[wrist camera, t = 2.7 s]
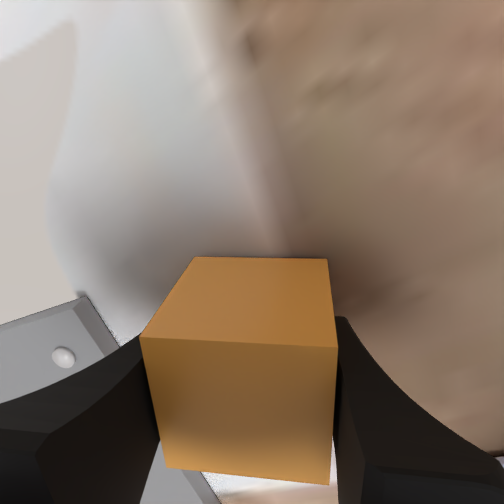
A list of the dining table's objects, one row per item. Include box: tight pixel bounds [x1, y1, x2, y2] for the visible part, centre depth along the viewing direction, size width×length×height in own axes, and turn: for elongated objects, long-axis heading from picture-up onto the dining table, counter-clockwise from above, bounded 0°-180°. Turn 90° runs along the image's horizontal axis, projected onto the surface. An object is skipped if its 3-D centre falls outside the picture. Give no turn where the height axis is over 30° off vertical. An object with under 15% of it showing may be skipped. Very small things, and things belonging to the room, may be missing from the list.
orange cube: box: [139, 257, 338, 485], centre depth 12 cm, size 5×5×5 cm
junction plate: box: [0, 296, 221, 504], centre depth 18 cm, size 16×12×4 cm
